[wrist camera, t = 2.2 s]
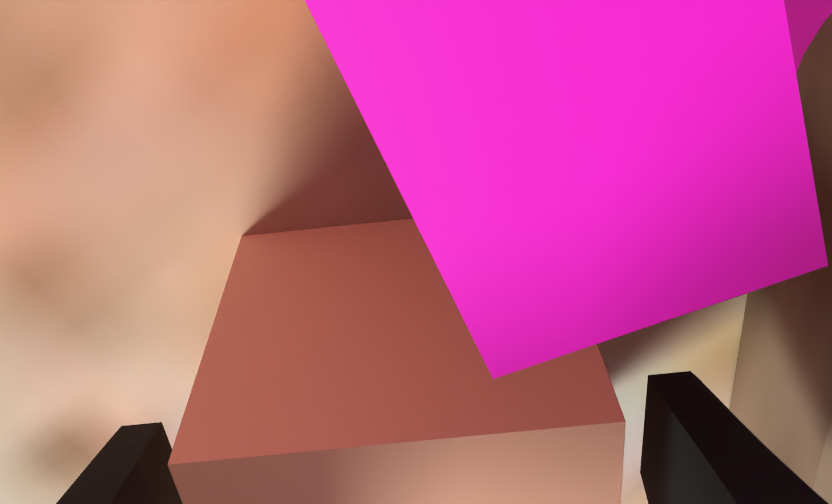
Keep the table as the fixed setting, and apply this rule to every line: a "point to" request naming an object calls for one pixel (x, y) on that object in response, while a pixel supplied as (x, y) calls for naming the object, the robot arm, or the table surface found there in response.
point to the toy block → (589, 154)
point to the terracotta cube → (380, 389)
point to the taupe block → (796, 316)
